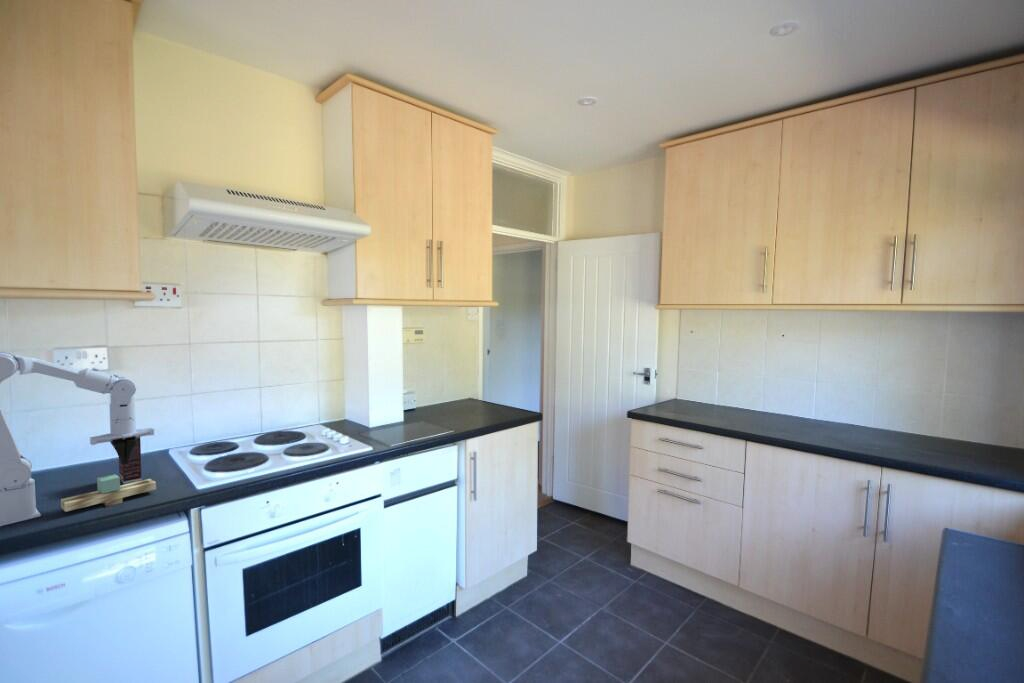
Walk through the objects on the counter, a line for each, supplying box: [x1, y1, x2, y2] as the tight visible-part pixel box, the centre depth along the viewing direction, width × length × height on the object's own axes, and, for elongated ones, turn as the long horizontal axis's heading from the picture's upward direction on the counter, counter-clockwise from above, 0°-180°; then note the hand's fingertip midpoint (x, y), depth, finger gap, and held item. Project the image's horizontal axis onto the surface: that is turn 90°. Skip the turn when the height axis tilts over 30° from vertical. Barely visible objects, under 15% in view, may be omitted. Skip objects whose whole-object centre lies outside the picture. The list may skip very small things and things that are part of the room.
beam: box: [60, 478, 157, 513], centre depth 132 cm, size 20×6×4 cm, turn 144°
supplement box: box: [118, 437, 143, 485], centre depth 150 cm, size 9×5×16 cm, turn 48°
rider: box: [96, 473, 121, 494], centre depth 132 cm, size 4×5×5 cm
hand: (124, 463), depth 137 cm, fingers closed
